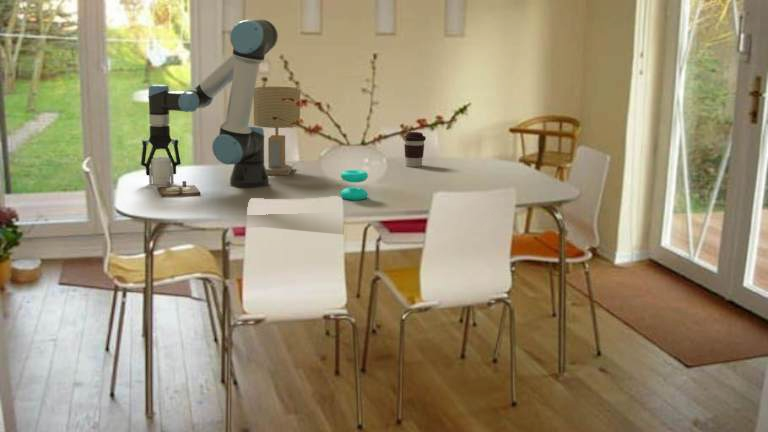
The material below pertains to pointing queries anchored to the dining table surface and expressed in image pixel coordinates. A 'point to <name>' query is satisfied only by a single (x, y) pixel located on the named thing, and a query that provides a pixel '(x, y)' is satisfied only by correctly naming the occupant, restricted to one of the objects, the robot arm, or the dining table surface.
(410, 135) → the coffee cup
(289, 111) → the desk lamp
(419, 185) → the dining table surface
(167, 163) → the white cup
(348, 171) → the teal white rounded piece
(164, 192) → the pin board
